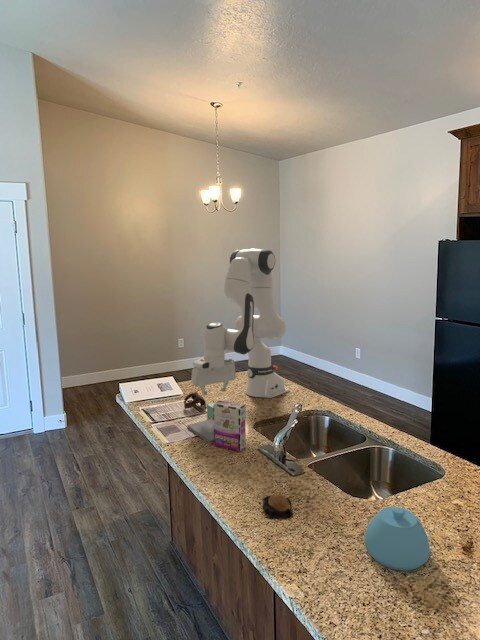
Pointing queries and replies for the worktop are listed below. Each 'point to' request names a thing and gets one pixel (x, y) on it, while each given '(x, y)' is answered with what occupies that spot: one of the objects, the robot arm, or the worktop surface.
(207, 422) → the slate board
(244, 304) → the robot arm
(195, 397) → the brown arched frame
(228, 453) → the worktop surface
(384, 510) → the sugar bowl
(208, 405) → the teal block
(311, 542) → the worktop surface
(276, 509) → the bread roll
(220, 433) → the candy bar box
